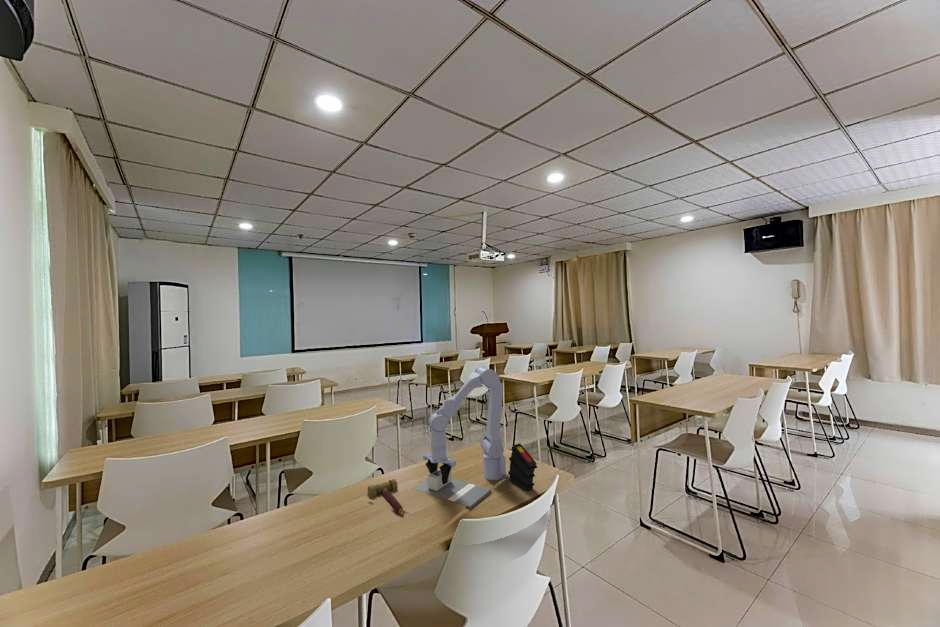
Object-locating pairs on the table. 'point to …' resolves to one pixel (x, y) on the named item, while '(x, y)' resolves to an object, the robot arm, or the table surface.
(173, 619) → the table surface
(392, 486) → the gavel
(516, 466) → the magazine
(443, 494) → the board
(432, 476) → the block
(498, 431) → the robot arm
